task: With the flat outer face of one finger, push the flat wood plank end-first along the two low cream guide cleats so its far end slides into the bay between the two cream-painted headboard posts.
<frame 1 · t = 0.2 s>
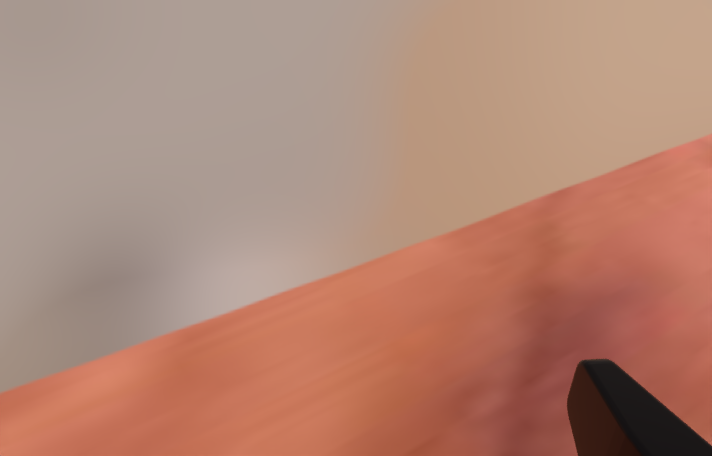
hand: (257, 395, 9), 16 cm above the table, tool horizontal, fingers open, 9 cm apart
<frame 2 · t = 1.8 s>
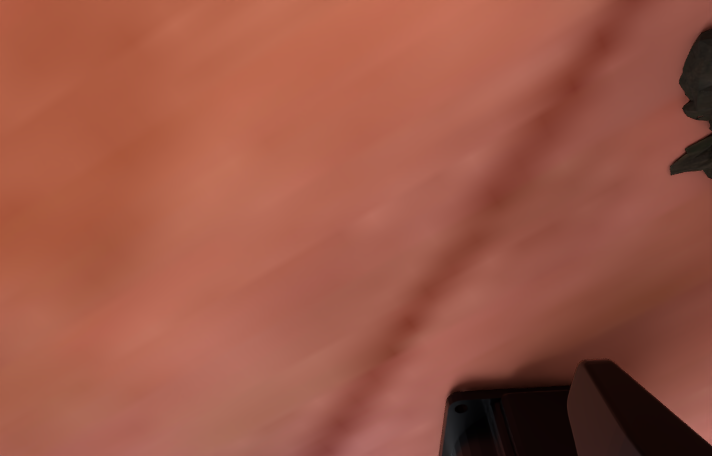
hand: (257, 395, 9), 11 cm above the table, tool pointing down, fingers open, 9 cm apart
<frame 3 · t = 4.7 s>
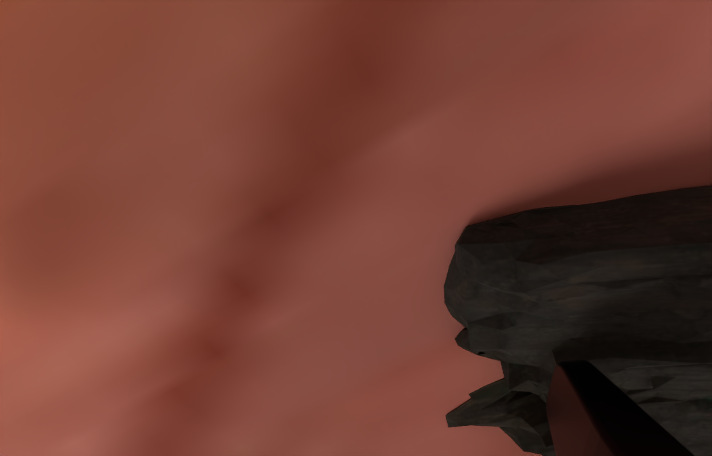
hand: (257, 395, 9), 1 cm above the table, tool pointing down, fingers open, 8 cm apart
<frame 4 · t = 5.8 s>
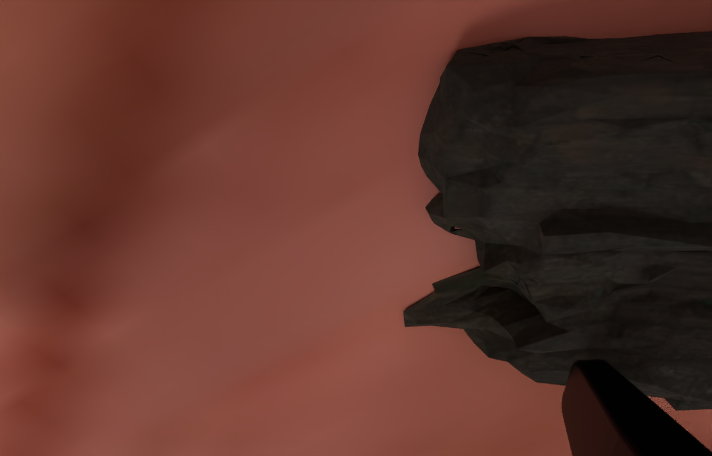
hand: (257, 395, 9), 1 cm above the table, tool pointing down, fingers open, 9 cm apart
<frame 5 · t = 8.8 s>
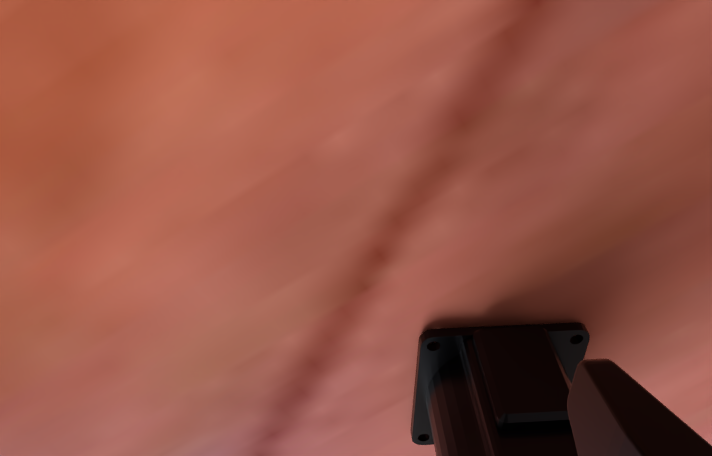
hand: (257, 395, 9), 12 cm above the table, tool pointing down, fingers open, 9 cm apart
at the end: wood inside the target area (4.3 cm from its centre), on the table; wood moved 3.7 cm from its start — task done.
